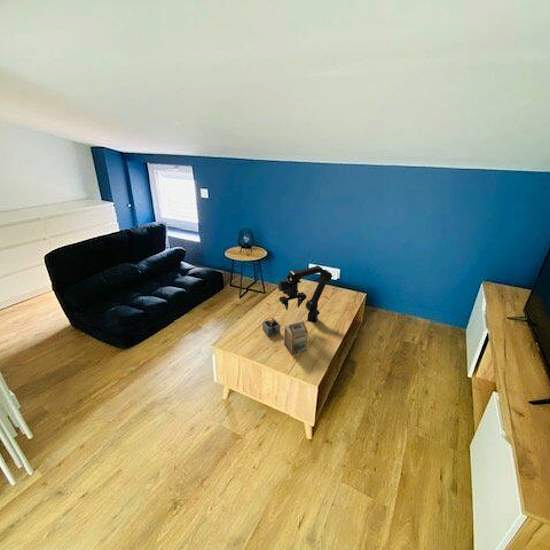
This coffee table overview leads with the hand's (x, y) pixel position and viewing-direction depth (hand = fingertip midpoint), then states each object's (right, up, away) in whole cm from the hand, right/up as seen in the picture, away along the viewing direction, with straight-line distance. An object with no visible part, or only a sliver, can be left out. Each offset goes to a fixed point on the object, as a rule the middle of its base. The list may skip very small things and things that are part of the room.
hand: (292, 308), depth 205 cm
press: (-14, -16, -4) cm, 22 cm away
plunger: (-15, -15, -3) cm, 22 cm away
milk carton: (+1, -23, -19) cm, 30 cm away
